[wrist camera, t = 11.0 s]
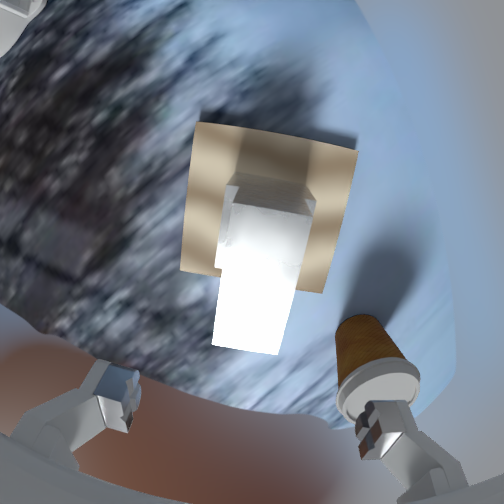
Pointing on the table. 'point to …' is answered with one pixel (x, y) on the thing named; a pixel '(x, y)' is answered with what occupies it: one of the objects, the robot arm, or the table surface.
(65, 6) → the table surface
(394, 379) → the disposable coffee cup
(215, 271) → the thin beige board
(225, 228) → the grey stepped block
